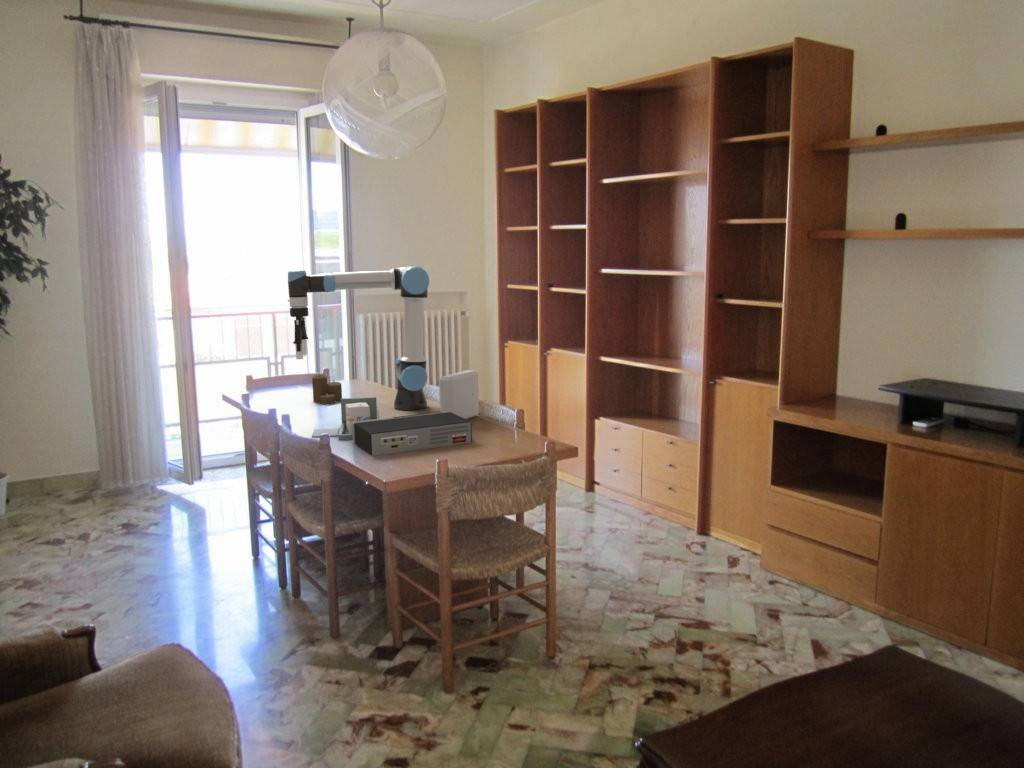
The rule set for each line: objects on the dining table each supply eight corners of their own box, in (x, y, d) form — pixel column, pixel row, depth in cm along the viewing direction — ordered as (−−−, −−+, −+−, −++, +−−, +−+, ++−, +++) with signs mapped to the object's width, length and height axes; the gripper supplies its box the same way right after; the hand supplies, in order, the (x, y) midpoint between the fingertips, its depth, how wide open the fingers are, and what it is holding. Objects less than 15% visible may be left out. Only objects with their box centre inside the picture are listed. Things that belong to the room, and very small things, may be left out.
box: (370, 457, 299) (369, 433, 297) (350, 442, 320) (349, 420, 319) (472, 443, 317) (471, 420, 315) (446, 430, 339) (445, 409, 337)
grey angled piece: (380, 425, 347) (378, 397, 345) (378, 438, 324) (377, 408, 322) (342, 426, 345) (340, 398, 343) (338, 440, 322) (336, 410, 320)
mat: (339, 429, 340) (339, 428, 340) (337, 436, 329) (337, 434, 328) (314, 430, 339) (314, 429, 339) (311, 437, 327) (311, 436, 327)
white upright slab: (464, 414, 367) (463, 369, 364) (480, 415, 363) (479, 370, 360) (436, 423, 350) (435, 376, 346) (452, 425, 346) (451, 377, 342)
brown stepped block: (305, 403, 396) (304, 372, 394) (321, 398, 409) (319, 367, 406) (331, 404, 392) (329, 373, 389) (345, 399, 405) (344, 368, 402)
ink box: (346, 431, 337) (344, 403, 335) (367, 429, 339) (365, 401, 337) (349, 436, 329) (348, 407, 327) (371, 434, 332) (369, 405, 329)
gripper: (294, 304, 364) (297, 353, 368) (285, 309, 340) (288, 361, 343) (311, 304, 365) (314, 352, 369) (304, 309, 341) (307, 360, 344)
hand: (301, 356), depth 356 cm, fingers open, 13 cm apart
